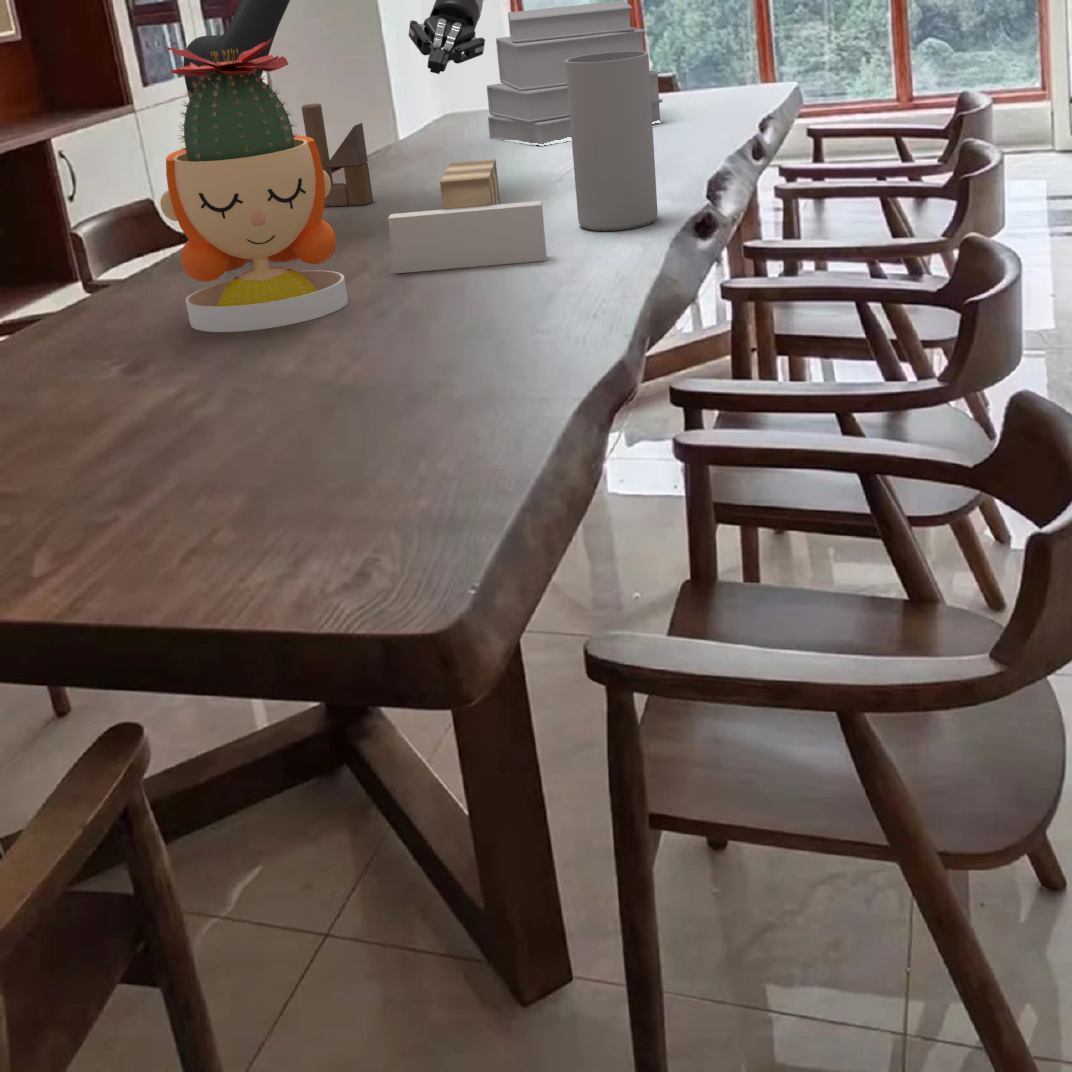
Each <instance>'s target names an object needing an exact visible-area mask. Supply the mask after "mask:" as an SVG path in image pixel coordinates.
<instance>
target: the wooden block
mask: <svg viewBox="0 0 1072 1072" xmlns="http://www.w3.org/2000/svg"><path fill="white" fill-rule="evenodd" d="M301 114H302V119H303V126H304V131H305V136H307V137H310V138H312V139H313V140H315V143H316V146H317V149H318V152H319V155H320V159H321V164H322V168H323V170H324V171H325V172H326V173H327V174H328V175H329V177H330V180H331V189H330V192H329V194H328V196H327V197H325V206H324V208H325V207H345V206H346V207H347V206H350V207H356V206H357V207H358V206H367V205H369V204H370V203H373V201H374V196H373V190H372V184H371V177H370V176H371V175H370V168H369V163H368V161H369V160H368V155H367V147H366V140H365V133H364V127H363V125H364V124H363V122H360V123H358V124H355V125H354V126H353V127H352V128H351V130H350V131H349V133H348V134H347V135H346V137H344V139H343V141H342V142H341V143H340V145H339V147H337V149H336V151H335V152H334V153H333V155H332V156H331V158H330V154H329V146H328V141H327V134H326V127H325V121H324V115H323V114H324V113H323V107H322V105H321V103H307V104H304V105H302V106H301ZM339 167H343V171H344V172H343V173H344V178H345V183H344V182H339V183H337V182H336V183H334V180H333V173H332V168H339Z"/></svg>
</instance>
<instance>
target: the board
mask: <svg viewBox="0 0 1072 1072" xmlns="http://www.w3.org/2000/svg"><path fill="white" fill-rule="evenodd" d="M387 221H388V227H389V228H388V229H389V236H390V243H391V250H392V255H393V256H392V257H393V265H394V271H395V274H405V273H406V274H407V273H415V272H416V273H417V272H418V273H419V272H427V271H440V270H452V269H464V268H465V269H466V268H475V267H486V266H498V265H499V266H500V265H509V264H519V263H520V264H521V263H522V264H523V263H532V262H534V263H535V262H545V261H547V256H548V255H547V244H546V234H545V225H544V213H543V202H542V200H537V201H536V200H535V201H534V200H533V201H524V202H511V203H500V204H499V205H488V206H477V207H466V208H454V209H443V208H442V209H434V210H423V211H412V212H403V213H402V212H399V213H390V215H389V216H388V217H387Z"/></svg>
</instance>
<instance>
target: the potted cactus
mask: <svg viewBox="0 0 1072 1072" xmlns="http://www.w3.org/2000/svg"><path fill="white" fill-rule="evenodd" d="M271 42H272V41H271V39H270V40H268V41H267V42H263V43H261V44H259V45H258V46H256V47H254V48H253V49H251V50H248V51H244V52H243V53H241V54H240V55H239V57H238V59H237V60H236V61H235V56H234V62H233V56H232V61H226V62H225V60H224V62H219V61H218V60H217V61H218V63H215V62H211V61H209V60H206V59H203V58H200V57H198V56H196V55H195V54H193V53H192V52H190V51H188V50H187V48H185V49H179V48H176V47H169V46H168V47H167V49H166V51H167V52H168V51H172V53H173V54H174V55H176V56H180V57H183V58H184V57H186V58H190V59H194V60H196V61H198V62H200V63H203V64H205V65H208V66H204V65H203V66H200V67H198V66H196V65H195V64H193V63H191V62H190V65H189V66H186V67H183V66H181V67H178V68H177V69H171V70H170V73H172V74H174V75H175V74H176V75H180V76H184V75H186V76H201V77H198V78H201V80H202V82H201V83H200V84H199V83H198V82H197V83H198V84H199V85H198V86H197V84H196V83H194V82H195V81H194V82H193V83H194V84H195V85H194V86H195V88H196V89H195V91H194V92H193V94H192V95H191V93H190V92H188V91H187V90H188V89H187V88H186V92H185V94H184V95H185V96H188V95H189V96H188V98H189V97H191V98H190V100H189V99H188V103H187V102H186V101H185V100H182V102H183V103H184V104H183V103H182V102H181V104H180V105H182V106H183V107H184V108H186V110H185V111H186V112H184V111H183V110H179V115H180V118H184V121H183V123H181V122H179V124H181V126H182V127H181V126H179V125H177V126H176V127H178V128H179V129H182V130H180V132H183V135H180V134H178V133H177V136H179V137H177V140H182V141H179V142H178V143H184V146H185V147H183V146H181V148H180V149H178V150H176V151H173V152H171V153H169V154H168V155H167V156H166V157H165V177H166V182H167V190H166V191H165V192H164V193H162V195H161V198H160V204H159V205H160V208H161V211H162V213H163V214H164V216H165V217H166V218H167V219H169V220H170V221H172V222H173V221H174V222H177V223H178V224H179V227H180V229H181V230H182V231H183V232H182V233H184V235H185V236H186V238H187V239H188V240H187V241H186V242H185V244H184V245H183V247H182V249H181V253H180V264H181V267H182V269H183V271H184V272H185V273H186V274H187V275H188V276H189V277H190V278H191V279H192V280H193V279H194V280H195V281H198V282H206V283H207V282H211V281H216V280H217V279H219V278H220V277H222V276H223V275H224V274H225V273H227V272H231V271H232V272H233V271H235V270H238V269H240V268H242V267H244V266H245V265H246V264H247V263H249V261H250V260H252V264H253V269H251V270H248V271H245V272H243V273H242V274H240V275H239V276H235V277H233V279H231V280H228V281H223V282H220V283H217V284H213V285H209V286H206V287H205V288H201V289H199V290H197V291H195V292H192V293H190V294H189V295H187V296H186V298H185V305H186V311H187V314H188V320H189V324H190V325H189V326H190V327H191V329H192V328H193V329H195V330H197V331H201V332H209V333H210V332H211V333H234V332H235V333H236V332H246V331H247V332H248V331H255V330H256V331H257V330H265V329H271V328H278V327H283V326H289V325H293V324H294V325H295V324H299V323H302V322H306V321H310V320H314V319H317V318H318V319H319V318H320V317H325V316H327V315H330V314H332V313H334V312H337V311H338V310H341V309H342V308H344V307H345V306H347V304H348V301H349V300H348V294H347V293H348V292H347V287H346V282H345V281H346V280H345V276H344V274H342V273H341V272H337V271H332V270H323V269H321V270H319V269H318V270H315V269H312V270H311V269H310V270H308V269H307V270H306V269H304V270H295V269H294V268H284V267H282V266H270V262H274V263H283V262H291V261H296V260H299V259H300V261H302V262H303V263H306V264H309V265H319V264H323V263H325V262H327V261H328V260H330V259H331V258H332V256H333V255H334V253H335V250H336V247H337V237H336V234H335V231H334V230H333V228H332V226H331V225H330V224H329V223H328V222H326V220H324V219H322V217H323V213H324V211H325V207H324V206H325V197H327V196H328V194H329V192H330V189H331V180H330V177H329V175H328V174H327V173H326V172H325V171H324V170H323V168H322V164H321V159H320V155H319V152H318V149H317V146H316V143H315V140H313V139H312V138H310V137H307V136H306V135H300V133H295V131H293V128H298V126H297V125H295V123H296V121H294V120H292V121H291V120H290V119H289V117H293V115H295V113H293V112H291V111H290V109H289V110H288V109H285V107H284V106H285V105H287V98H286V97H283V100H282V97H280V98H279V97H278V95H280V94H282V93H283V92H281V89H280V88H277V89H276V88H274V89H272V88H270V87H271V86H273V85H274V83H273V82H272V80H267V82H264V80H266V79H267V78H265V77H266V75H261V76H260V75H259V76H258V77H259V78H258V77H256V76H255V75H256V74H255V73H254V72H255V70H256V68H257V70H258V69H260V70H263V72H273V71H277V70H279V69H282V68H284V67H285V66H289V62H288V60H287V58H286V57H284V56H279V55H278V54H276V56H274V55H273V54H270V55H268V56H264V57H261V58H257V59H254V60H252V61H249V62H246V61H248V60H250V59H252V58H254V57H255V56H257V55H259V54H260V53H261V52H262V51H264V50H265V49H266V48H267V47H268V46H269V45H270V43H271ZM236 51H237V53H238V50H237V48H236ZM213 53H214V56H215V57H216V55H217V58H216V59H218V53H217V52H216V54H215V52H213ZM227 53H228V60H229V50H228V51H227ZM231 53H232V49H231ZM222 54H224V55H225V57H226V53H225V51H224V52H223V49H222ZM233 54H235V53H234V50H233ZM224 55H223V57H224ZM211 56H213V55H212V52H211ZM212 59H213V58H212ZM216 59H215V60H216ZM213 61H214V60H213ZM217 61H216V62H217ZM253 68H255V69H253ZM206 71H211V72H213V73H212V74H210V75H209V76H208V75H207V74H208V73H210V72H206ZM253 71H254V72H253ZM214 72H215V73H214ZM252 72H253V73H252ZM254 74H255V75H254ZM205 75H206V76H207V77H206V76H205ZM203 76H205V77H206V78H205V77H203ZM203 78H205V79H203ZM199 82H200V81H199ZM192 85H193V84H192ZM192 87H193V86H192ZM275 89H276V90H275ZM193 90H194V89H193ZM189 91H190V90H189ZM188 93H189V94H188ZM285 98H286V99H285Z"/></svg>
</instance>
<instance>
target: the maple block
mask: <svg viewBox="0 0 1072 1072" xmlns="http://www.w3.org/2000/svg"><path fill="white" fill-rule="evenodd" d="M497 169H498V168H497V159H496V158H492V159H483V160H482V159H481V160H473V161H471V160H470V161H460V162H452V163H451V162H450V163H449V166H448V167H447V168H446V171H445V172H444V174H443V176H442V178H441V180H440V182H439V185H440V192H441V201H442V210H443V209H454V208H466V207H477V206H488V205H499V204H501V198H500V189H499V188H500V187H499V180H498V178H499V177H498V170H497Z"/></svg>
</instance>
